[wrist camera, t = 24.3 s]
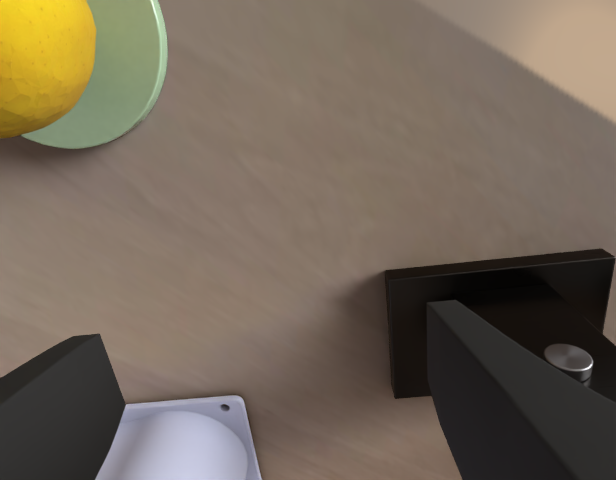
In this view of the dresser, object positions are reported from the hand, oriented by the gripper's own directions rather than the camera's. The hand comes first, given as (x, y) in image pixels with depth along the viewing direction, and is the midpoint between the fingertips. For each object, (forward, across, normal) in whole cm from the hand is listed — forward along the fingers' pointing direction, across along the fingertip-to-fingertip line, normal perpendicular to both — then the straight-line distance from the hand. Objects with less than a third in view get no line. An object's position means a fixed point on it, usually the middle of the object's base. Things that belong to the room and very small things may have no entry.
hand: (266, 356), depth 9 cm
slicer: (+10, -9, +7) cm, 15 cm away
